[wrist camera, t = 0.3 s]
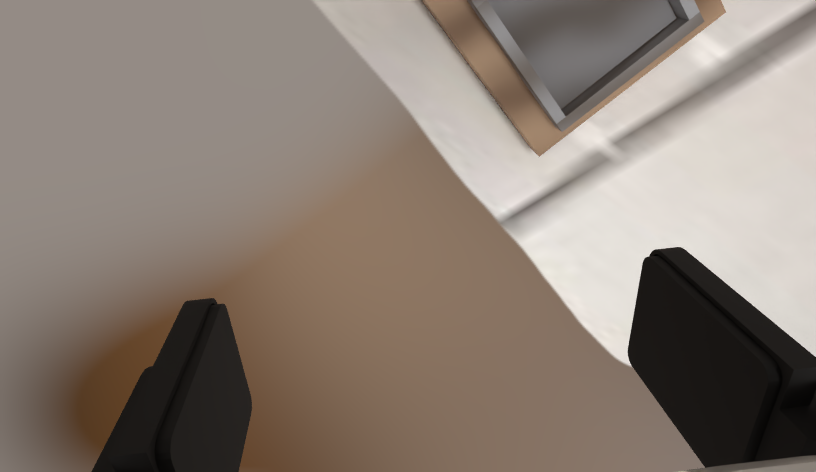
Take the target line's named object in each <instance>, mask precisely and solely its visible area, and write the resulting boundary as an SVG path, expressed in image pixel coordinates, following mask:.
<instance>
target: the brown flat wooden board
mask: <svg viewBox="0 0 816 472" xmlns="http://www.w3.org/2000/svg"><path fill="white" fill-rule="evenodd" d="M422 1H423V3H424V4H425V5H426V7H427V8H428V10H429V11H430V12H431V14H432V15H433V16H434V18H435V19H436V20H437V22H438V23H439V24H440V26H441V27H442V29H443V30H444V31H445V33H446V34H447V35H448V37H449V38H450V39H451V41H452V42H453V43H454V45H455V46H456V48H457V49H458V50H459V52H460V53H461V54H462V56H463V57H464V58H465V60H466V61H467V62H468V64H469V65H470V66H471V68H472V69H473V71H474V72H475V73H476V75H477V76H478V77H479V79H480V80H481V81H482V83H483V84H484V85H485V87H486V88H487V90H488V91H489V92H490V94H491V95H492V96H493V98H494V99H495V100H496V102H497V103H498V104H499V106H500V107H501V109H502V110H503V111H504V113H505V114H506V115H507V117H508V118H509V119H510V121H511V122H512V123H513V125H514V126H515V127H516V129H517V130H518V132H519V133H520V134H521V136H522V137H523V138H524V140H525V141H526V142H527V144H528V145H529V146H530V148H531V149H532V150H533V151H534V152H535V153H536V154H537V155H538V156H541V155H542V154H543V153H544V152H546V151H547V150H548V149H550V148H551V147H552V146H554V145H555V144H556V143H557V142H559V141H560V140H561V139H563V138H564V137H565V136H566V135H568V134H569V133H570V132H572V131H573V130H574V129H576V128H577V127H578V126H579V125H581V124H582V123H583V122H585V121H586V120H587V119H588V118H590V117H591V116H592V115H594V114H595V113H596V112H597V111H599V110H600V109H601V108H603V107H604V106H605V105H607V104H608V103H609V102H610V101H612V100H613V99H614V98H616V97H617V96H618V95H619V94H621V93H622V92H623V91H625V90H626V89H627V88H629V87H630V86H631V85H632V84H634V83H635V82H636V81H638V80H639V79H640V78H641V77H643V76H644V75H645V74H647V73H648V72H649V71H651V70H652V69H653V68H654V67H656V66H657V65H658V64H660V63H661V62H662V61H663V60H665V59H666V58H667V57H669V56H670V55H671V54H672V53H674V52H675V51H676V50H678V49H679V48H680V47H682V46H683V45H684V44H685V43H687V42H688V41H689V40H691V39H692V38H693V37H694V36H696V35H697V34H698V33H700V32H701V31H702V30H704V29H705V28H706V27H707V26H709V25H710V24H711V23H713V22H714V21H715V20H716V19H718V18H719V17H720V16H722V15H723V14H724V13H726V11H725V9H724V6H723V4H722V2H721V0H422Z"/></svg>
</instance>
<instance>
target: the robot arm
mask: <svg viewBox="0 0 816 472" xmlns="http://www.w3.org/2000/svg"><path fill="white" fill-rule="evenodd" d="M628 357H629V361H630V363H631V365H632V367H633V368H634V370H635V371H636V372H637V374H638V375H639V376H640V378H641V379H642V380H643V382H644V383H645V385H646V386H647V388H648V389H649V390H650V392H651V393H652V394H653V396H654V397H655V398H656V400H657V401H658V403H659V404H660V405H661V407H662V408H663V410H664V411H665V412H666V414H667V415H668V417H669V418H670V419H671V421H672V422H673V424H674V425H675V426H676V427H677V429H678V430H679V432H680V433H681V434H682V436H683V437H684V439H685V440H686V441H687V443H688V444H689V446H690V447H691V448H692V450H693V451H694V453H695V454H696V455H697V457H698V458H699V459H700V461H701V462H702V464H703V465H704V466H705V468H700V469H693V470H685V471H677V472H816V357H815V356H814V355H812V354H811V353H810V352H809V351H807V350H806V349H805V348H804V347H803V346H801V345H800V344H799V343H798V342H796V341H795V340H794V339H793V338H792V337H790V336H789V335H788V334H787V333H786V332H784V331H783V330H782V329H781V328H779V327H778V326H777V325H776V324H775V323H773V322H772V321H771V320H770V319H769V318H767V317H766V316H765V315H764V314H762V313H761V312H760V311H759V310H758V309H756V308H755V307H754V306H753V305H752V304H750V303H749V302H748V301H747V300H745V299H744V298H743V297H742V296H741V295H739V294H738V293H737V292H736V291H735V290H733V289H732V288H731V287H730V286H728V285H727V284H726V283H725V282H724V281H722V280H721V279H720V278H719V277H718V276H716V275H715V274H714V273H713V272H711V271H710V270H709V269H708V268H707V267H705V266H704V265H703V264H702V263H700V262H699V261H698V260H697V259H696V258H694V257H693V256H692V255H691V254H690V253H688V252H687V251H686V250H685V249H683V248H681V247H675V248H666V249H657V250H654V251H652V252H651V254H650V256H649V257H646V258H645V259H644V261H643V265H642V271H641V276H640V282H639V288H638V294H637V300H636V305H635V311H634V317H633V323H632V329H631V334H630V340H629V346H628ZM251 411H252V402H251V395H250V391H249V388H248V384H247V380H246V377H245V373H244V369H243V366H242V362H241V358H240V355H239V351H238V347H237V344H236V340H235V336H234V333H233V329H232V326H231V322H230V318H229V315H228V312H227V308H226V306H225V304H217V302H216V300H215V299H214V298H210V299H200V300H192V301H186V302H185V303H184V304H183V306H182V308H181V310H180V312H179V315H178V316H177V318H176V320H175V322H174V324H173V327H172V329H171V331H170V333H169V335H168V337H167V339H166V341H165V343H164V345H163V347H162V349H161V351H160V353H159V355H158V357H157V359H156V361H155V363H154V365H153V366H151V367H148V368H146V369H145V370H144V372H143V373H142V375H141V376H140V378H139V380H138V382H137V384H136V386H135V388H134V390H133V392H132V394H131V396H130V398H129V400H128V402H127V404H126V406H125V408H124V409H123V411H122V413H121V415H120V417H119V419H118V421H117V423H116V425H115V427H114V429H113V431H112V433H111V435H110V437H109V439H108V441H107V443H106V445H105V447H104V449H103V451H102V452H101V454H100V456H99V458H98V460H97V463H96V464H95V466H94V468H93V470H92V472H238V471H239V467H240V462H241V458H242V453H243V449H244V444H245V439H246V434H247V430H248V426H249V421H250V416H251Z"/></svg>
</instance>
